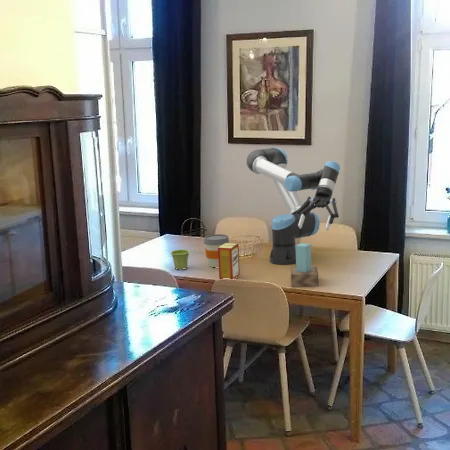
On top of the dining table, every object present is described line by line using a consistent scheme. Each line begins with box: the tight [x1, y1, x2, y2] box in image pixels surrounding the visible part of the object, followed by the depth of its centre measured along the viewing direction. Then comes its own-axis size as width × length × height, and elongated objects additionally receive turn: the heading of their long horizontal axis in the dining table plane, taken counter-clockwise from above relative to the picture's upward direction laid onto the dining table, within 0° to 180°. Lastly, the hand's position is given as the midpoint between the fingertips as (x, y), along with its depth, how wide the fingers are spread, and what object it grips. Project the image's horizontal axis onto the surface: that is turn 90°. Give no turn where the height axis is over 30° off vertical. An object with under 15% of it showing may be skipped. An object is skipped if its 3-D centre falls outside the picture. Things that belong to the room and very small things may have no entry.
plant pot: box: [170, 249, 190, 270], centre depth 321 cm, size 9×9×9 cm
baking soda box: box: [218, 242, 241, 279], centre depth 300 cm, size 10×6×16 cm
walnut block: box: [290, 266, 320, 288], centre depth 288 cm, size 12×12×6 cm
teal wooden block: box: [295, 242, 313, 273], centre depth 286 cm, size 5×5×12 cm
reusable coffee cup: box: [203, 233, 230, 268], centre depth 322 cm, size 12×13×15 cm
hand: (312, 228), depth 294 cm, fingers open, 13 cm apart
